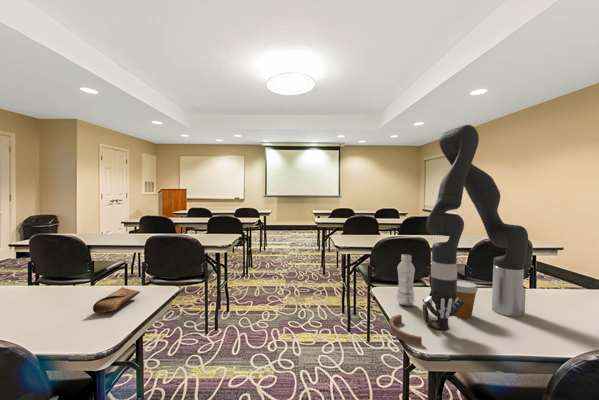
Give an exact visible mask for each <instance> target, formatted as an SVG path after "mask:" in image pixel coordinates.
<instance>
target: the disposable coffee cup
mask: <svg viewBox="0 0 599 400" xmlns="http://www.w3.org/2000/svg"><path fill="white" fill-rule="evenodd" d="M478 289H479V288H478V287H477V284H476V283H474V282H472V281H468V280H463V279H457V291H456V294H457V298H459V299H460V300H462V301H463V302H464V304H463V305H462V307H461V308H460V309H459V310H458V312H457V313H456V314H455V315H454V316H453V317H456V318H458V319H465V320H469V319H471V318H472V316H473V311H474V305H475V301H476V300H475V299H476V294H477V291H478Z"/></svg>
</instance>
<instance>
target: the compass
mask: <svg viewBox="0 0 599 400" xmlns="http://www.w3.org/2000/svg"><path fill="white" fill-rule="evenodd" d="M422 316H423V321H424V322H425V324H427V325H428V327H429V328H431V329H433V330H436V331H448V330H449V326H448V327H447V329H440V328H439V326H438V325H437V317H435V318H434V317H432V319H430V316H429V309H428V307H427V306H426V305H425V304H424V303H423V304H422Z"/></svg>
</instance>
